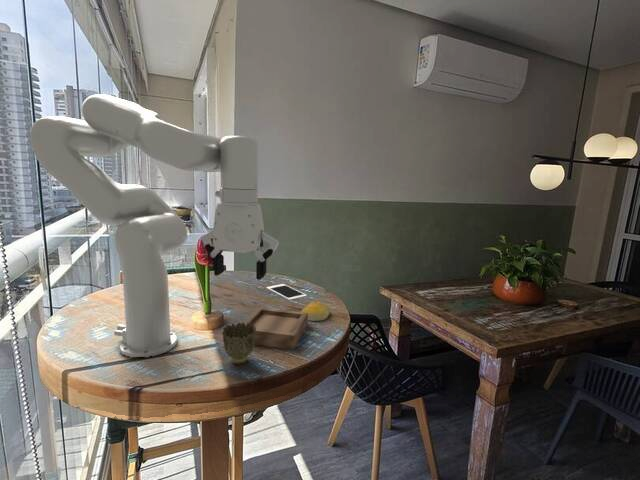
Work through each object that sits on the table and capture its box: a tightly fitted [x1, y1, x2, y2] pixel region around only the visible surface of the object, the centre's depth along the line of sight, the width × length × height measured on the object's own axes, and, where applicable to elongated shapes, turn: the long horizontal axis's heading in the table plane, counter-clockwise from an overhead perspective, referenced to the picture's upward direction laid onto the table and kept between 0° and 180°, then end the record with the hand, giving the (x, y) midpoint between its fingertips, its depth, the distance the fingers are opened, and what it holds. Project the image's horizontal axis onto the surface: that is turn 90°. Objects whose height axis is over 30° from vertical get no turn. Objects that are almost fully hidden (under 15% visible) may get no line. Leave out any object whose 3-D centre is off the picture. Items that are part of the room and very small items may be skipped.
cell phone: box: [266, 283, 308, 301], centre depth 128 cm, size 8×16×1 cm, turn 39°
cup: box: [222, 322, 256, 365], centre depth 78 cm, size 8×7×8 cm
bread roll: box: [300, 301, 330, 322], centre depth 106 cm, size 8×9×4 cm
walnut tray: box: [242, 306, 309, 351], centre depth 93 cm, size 15×15×4 cm
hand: (239, 276), depth 75 cm, fingers open, 9 cm apart
